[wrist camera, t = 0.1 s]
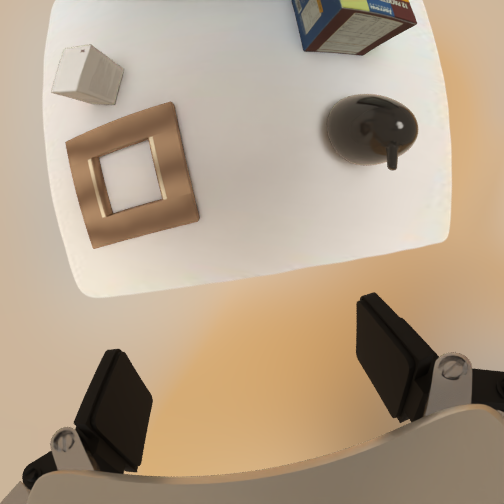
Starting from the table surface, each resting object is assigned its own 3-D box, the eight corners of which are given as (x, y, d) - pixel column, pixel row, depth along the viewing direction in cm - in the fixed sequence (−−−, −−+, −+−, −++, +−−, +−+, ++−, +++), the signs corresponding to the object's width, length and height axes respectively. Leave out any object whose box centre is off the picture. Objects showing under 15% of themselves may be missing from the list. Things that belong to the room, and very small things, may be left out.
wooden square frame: (73, 142, 33) (65, 142, 30) (174, 104, 33) (170, 101, 31) (99, 243, 39) (93, 249, 36) (199, 217, 39) (197, 221, 37)
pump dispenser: (310, 152, 37) (357, 152, 23) (327, 90, 34) (378, 63, 20) (367, 174, 39) (429, 187, 25) (383, 116, 36) (446, 107, 22)
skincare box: (101, 69, 29) (63, 46, 18) (125, 69, 30) (92, 43, 19) (91, 105, 31) (49, 93, 20) (115, 106, 32) (77, 91, 21)
